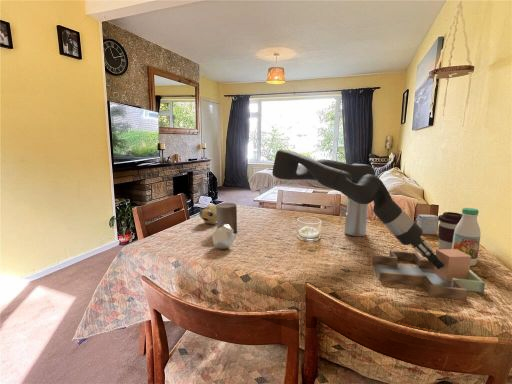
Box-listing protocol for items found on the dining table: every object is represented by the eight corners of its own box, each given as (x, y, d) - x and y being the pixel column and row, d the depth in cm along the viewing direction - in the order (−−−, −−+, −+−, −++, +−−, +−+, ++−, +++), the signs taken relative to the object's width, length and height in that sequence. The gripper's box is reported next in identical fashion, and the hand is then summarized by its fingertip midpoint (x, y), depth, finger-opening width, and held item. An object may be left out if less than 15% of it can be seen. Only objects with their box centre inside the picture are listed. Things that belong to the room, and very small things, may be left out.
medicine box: (432, 231, 137) (434, 214, 136) (437, 234, 133) (439, 217, 131) (415, 231, 138) (417, 214, 136) (419, 234, 133) (421, 216, 132)
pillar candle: (240, 231, 138) (240, 201, 135) (230, 237, 129) (230, 205, 126) (223, 228, 142) (222, 199, 139) (213, 234, 133) (211, 203, 130)
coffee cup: (459, 246, 118) (463, 212, 115) (467, 255, 108) (473, 218, 106) (431, 243, 121) (436, 210, 118) (438, 252, 112) (442, 215, 109)
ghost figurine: (235, 251, 112) (235, 227, 110) (211, 252, 111) (211, 228, 109) (235, 243, 121) (235, 221, 119) (213, 244, 120) (212, 221, 118)
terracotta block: (446, 281, 88) (449, 256, 86) (433, 272, 93) (436, 249, 92) (467, 280, 88) (471, 256, 86) (453, 271, 94) (456, 249, 92)
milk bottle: (445, 258, 106) (451, 206, 103) (464, 257, 107) (471, 206, 103) (461, 266, 99) (469, 211, 95) (482, 266, 99) (490, 211, 96)
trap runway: (383, 292, 82) (384, 281, 81) (369, 257, 107) (369, 248, 106) (495, 305, 75) (497, 293, 75) (452, 264, 100) (453, 255, 100)
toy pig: (196, 225, 146) (195, 206, 144) (208, 220, 157) (207, 201, 155) (212, 228, 142) (212, 207, 140) (223, 221, 153) (223, 202, 152)
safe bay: (452, 290, 83) (453, 279, 82) (434, 269, 96) (435, 260, 96) (483, 293, 81) (485, 282, 81) (460, 272, 95) (461, 262, 94)
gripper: (388, 228, 97) (423, 264, 96) (397, 240, 84) (438, 283, 84) (406, 214, 95) (442, 251, 94) (419, 225, 82) (461, 268, 82)
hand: (440, 266), depth 89 cm, fingers closed
